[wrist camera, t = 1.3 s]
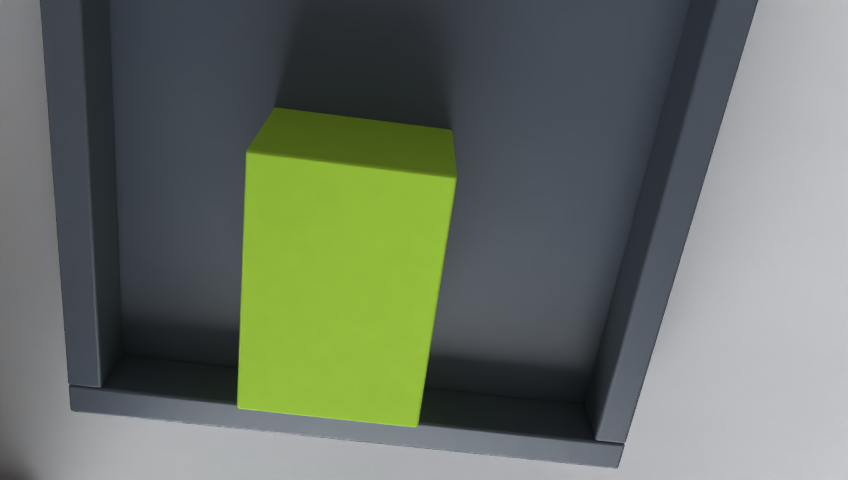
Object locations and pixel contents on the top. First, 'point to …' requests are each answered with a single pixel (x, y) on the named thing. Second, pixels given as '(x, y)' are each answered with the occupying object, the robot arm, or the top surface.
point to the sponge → (342, 265)
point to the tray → (471, 213)
